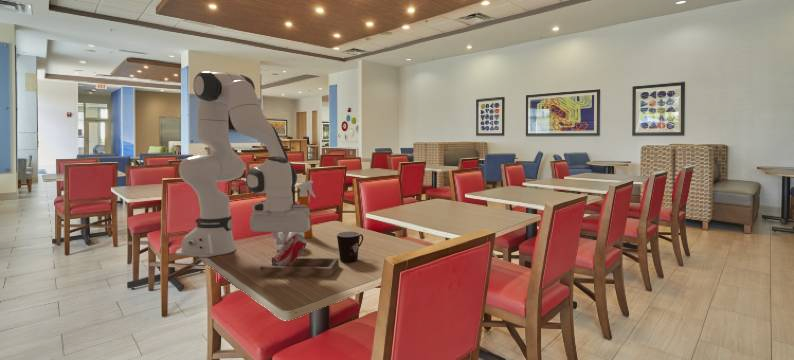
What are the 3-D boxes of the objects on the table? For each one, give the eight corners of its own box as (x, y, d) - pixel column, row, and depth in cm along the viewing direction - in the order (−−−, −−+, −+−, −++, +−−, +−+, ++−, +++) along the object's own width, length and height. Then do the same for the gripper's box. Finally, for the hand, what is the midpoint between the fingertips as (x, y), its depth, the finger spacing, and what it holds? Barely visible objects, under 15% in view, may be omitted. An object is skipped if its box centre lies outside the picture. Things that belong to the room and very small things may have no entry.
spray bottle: (311, 240, 186) (309, 181, 184) (293, 237, 192) (291, 180, 189) (322, 237, 192) (320, 180, 189) (304, 234, 198) (303, 178, 195)
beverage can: (282, 272, 142) (304, 245, 141) (269, 260, 143) (290, 233, 142) (290, 269, 148) (311, 243, 147) (277, 257, 149) (298, 231, 148)
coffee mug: (342, 265, 151) (341, 238, 150) (334, 258, 158) (333, 233, 157) (371, 260, 156) (371, 234, 155) (362, 254, 164) (362, 229, 163)
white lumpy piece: (267, 252, 168) (266, 230, 167) (284, 245, 179) (283, 224, 178) (292, 254, 164) (291, 232, 163) (307, 247, 176) (307, 226, 175)
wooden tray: (260, 275, 140) (260, 266, 140) (273, 265, 151) (272, 256, 151) (331, 277, 138) (330, 268, 138) (338, 266, 149) (338, 258, 149)
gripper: (312, 203, 145) (313, 242, 146) (254, 203, 147) (256, 241, 148) (306, 206, 139) (308, 247, 140) (247, 206, 140) (249, 246, 142)
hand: (281, 244), depth 144 cm, fingers closed
